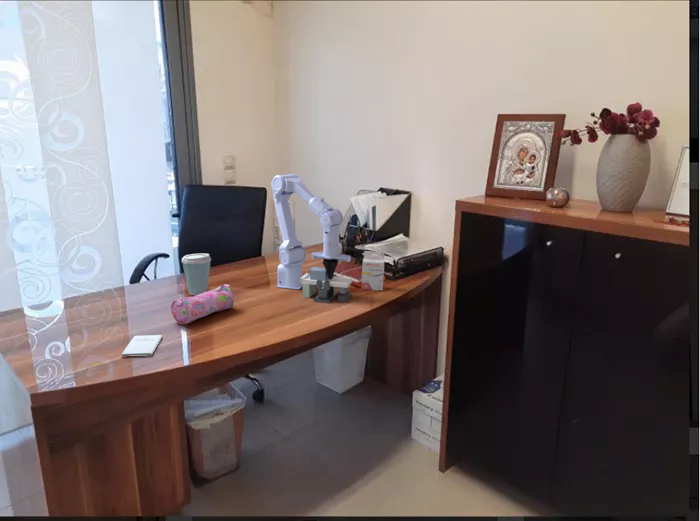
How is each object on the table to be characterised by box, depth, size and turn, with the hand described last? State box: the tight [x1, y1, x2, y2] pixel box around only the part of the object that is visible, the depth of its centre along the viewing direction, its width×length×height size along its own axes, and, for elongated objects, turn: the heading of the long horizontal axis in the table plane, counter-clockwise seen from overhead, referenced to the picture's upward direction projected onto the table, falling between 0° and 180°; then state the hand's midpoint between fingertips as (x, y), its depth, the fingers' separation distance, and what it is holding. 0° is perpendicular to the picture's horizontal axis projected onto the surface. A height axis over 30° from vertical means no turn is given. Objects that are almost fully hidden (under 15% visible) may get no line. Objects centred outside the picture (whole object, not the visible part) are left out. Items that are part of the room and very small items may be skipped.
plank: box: [301, 272, 353, 294], centre depth 186 cm, size 18×10×4 cm, turn 75°
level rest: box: [302, 284, 316, 299], centre depth 189 cm, size 2×7×6 cm, turn 165°
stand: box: [313, 273, 340, 304], centre depth 187 cm, size 6×13×8 cm, turn 165°
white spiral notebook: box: [120, 334, 163, 357], centre depth 143 cm, size 2×8×12 cm
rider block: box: [309, 266, 328, 281], centre depth 186 cm, size 6×4×4 cm
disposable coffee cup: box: [181, 252, 212, 296], centre depth 187 cm, size 11×11×15 cm
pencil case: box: [170, 283, 235, 325], centre depth 166 cm, size 21×9×9 cm, turn 145°
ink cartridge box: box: [361, 250, 385, 292], centre depth 196 cm, size 9×5×15 cm, turn 84°
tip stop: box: [337, 290, 352, 303], centre depth 186 cm, size 3×7×2 cm, turn 165°
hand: (330, 278), depth 186 cm, fingers closed
